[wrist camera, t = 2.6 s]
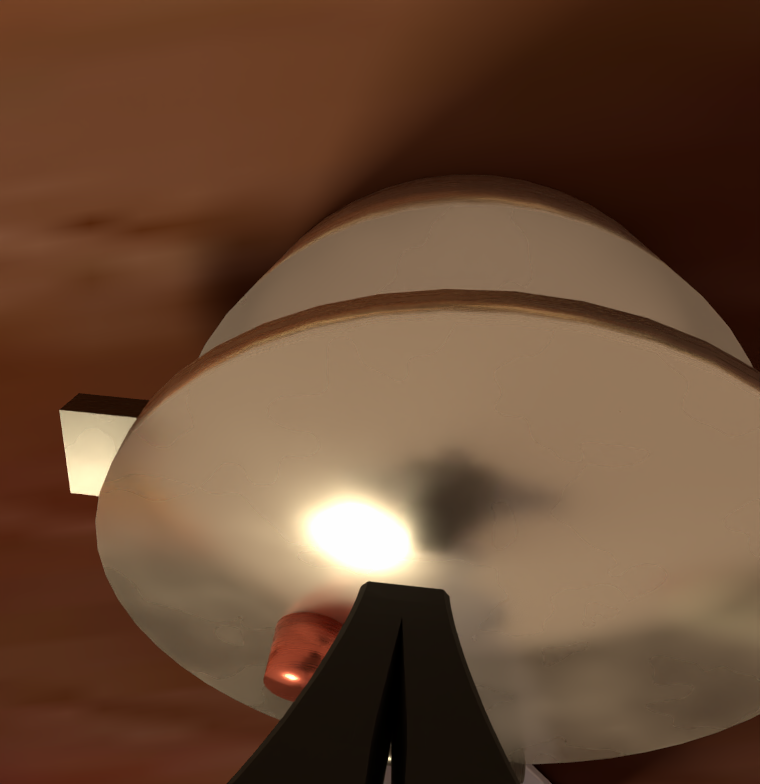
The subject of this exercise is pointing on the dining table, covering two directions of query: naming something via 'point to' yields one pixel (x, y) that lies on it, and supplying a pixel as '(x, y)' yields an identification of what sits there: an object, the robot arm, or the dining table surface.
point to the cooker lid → (459, 510)
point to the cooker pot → (433, 276)
